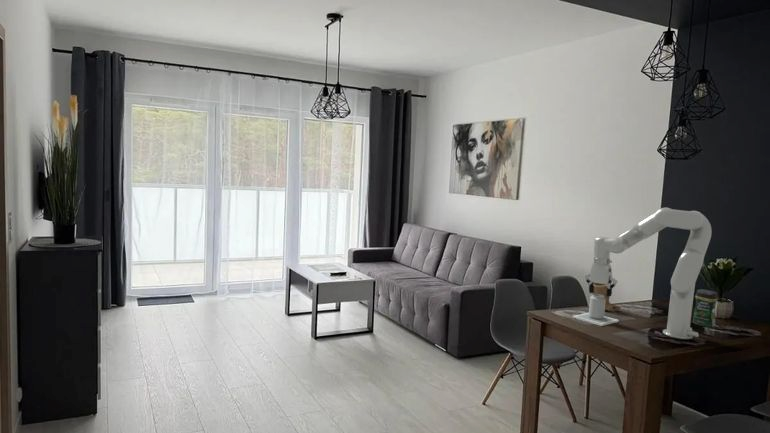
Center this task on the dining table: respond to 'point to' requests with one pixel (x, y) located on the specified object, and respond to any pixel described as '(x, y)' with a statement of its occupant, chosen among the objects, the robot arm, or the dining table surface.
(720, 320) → the dining table surface
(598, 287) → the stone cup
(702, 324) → the coffee jar
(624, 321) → the dining table surface
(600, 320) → the trivet
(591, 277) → the robot arm
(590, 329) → the dining table surface
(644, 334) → the dining table surface
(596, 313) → the can
